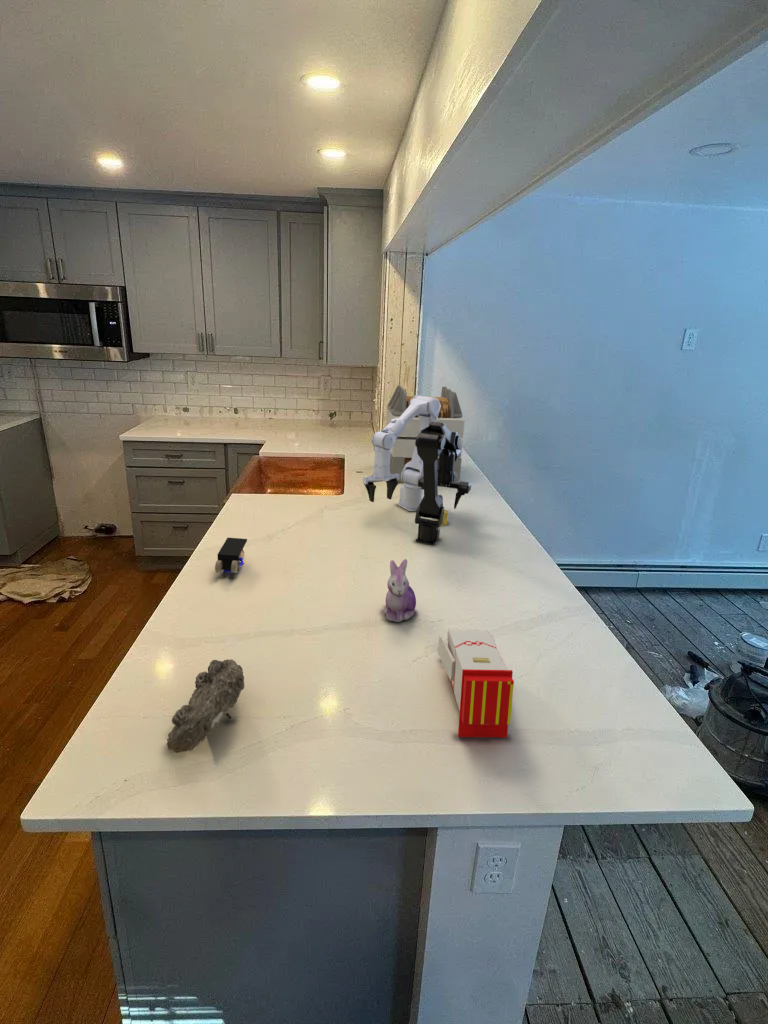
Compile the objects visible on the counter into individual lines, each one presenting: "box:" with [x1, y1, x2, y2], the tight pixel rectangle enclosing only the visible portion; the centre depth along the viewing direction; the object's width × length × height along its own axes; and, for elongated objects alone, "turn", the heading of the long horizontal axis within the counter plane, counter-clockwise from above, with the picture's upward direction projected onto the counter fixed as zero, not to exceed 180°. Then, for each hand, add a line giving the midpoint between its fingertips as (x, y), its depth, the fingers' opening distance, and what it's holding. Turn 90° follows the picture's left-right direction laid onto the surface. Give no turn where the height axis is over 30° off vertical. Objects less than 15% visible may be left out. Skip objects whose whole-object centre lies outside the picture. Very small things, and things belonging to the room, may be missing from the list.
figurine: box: [384, 558, 417, 623], centre depth 145 cm, size 9×10×15 cm
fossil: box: [166, 658, 245, 754], centre depth 106 cm, size 22×10×15 cm
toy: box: [437, 628, 515, 738], centre depth 117 cm, size 12×13×30 cm
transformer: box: [385, 384, 465, 484], centre depth 268 cm, size 34×33×41 cm
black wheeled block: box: [214, 537, 248, 578], centre depth 166 cm, size 7×8×15 cm
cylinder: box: [435, 509, 449, 526], centre depth 211 cm, size 4×4×5 cm
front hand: (442, 506), depth 210 cm, fingers open, 9 cm apart
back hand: (380, 499), depth 211 cm, fingers open, 7 cm apart
